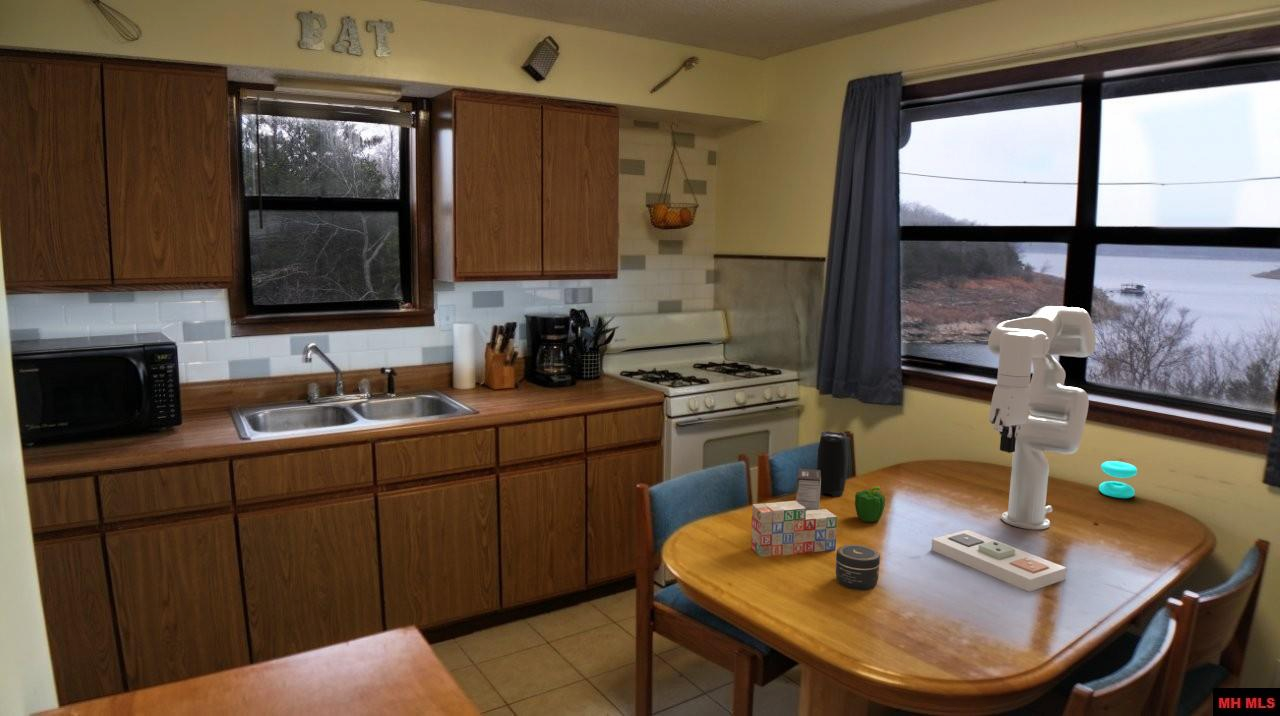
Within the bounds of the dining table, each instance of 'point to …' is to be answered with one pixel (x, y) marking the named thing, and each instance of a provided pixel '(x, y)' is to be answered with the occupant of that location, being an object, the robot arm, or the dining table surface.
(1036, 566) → the tile three
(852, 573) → the jar
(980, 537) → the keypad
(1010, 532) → the dining table surface
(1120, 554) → the dining table surface
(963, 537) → the tile one
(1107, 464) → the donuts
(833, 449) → the portable speaker
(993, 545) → the tile two
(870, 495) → the bell pepper
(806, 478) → the coffee box
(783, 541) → the stack of blocks
